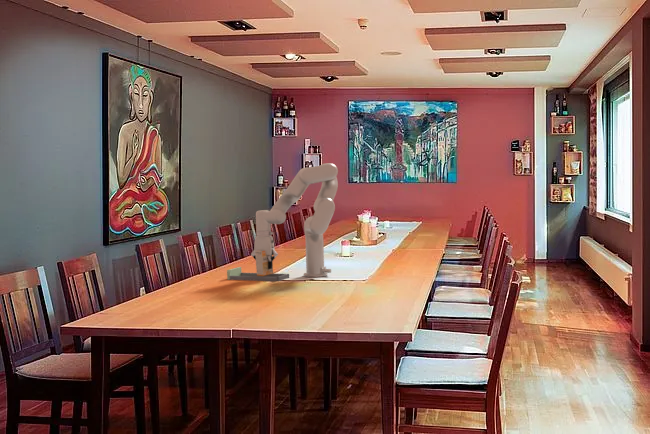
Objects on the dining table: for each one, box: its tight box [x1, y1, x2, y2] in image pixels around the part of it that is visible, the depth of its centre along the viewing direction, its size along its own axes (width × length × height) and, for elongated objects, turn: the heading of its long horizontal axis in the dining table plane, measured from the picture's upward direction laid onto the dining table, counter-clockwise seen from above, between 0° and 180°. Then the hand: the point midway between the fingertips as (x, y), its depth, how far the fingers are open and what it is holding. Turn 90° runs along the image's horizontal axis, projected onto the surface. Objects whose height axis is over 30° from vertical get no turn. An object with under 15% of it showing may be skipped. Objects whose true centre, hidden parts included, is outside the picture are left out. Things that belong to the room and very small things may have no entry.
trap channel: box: [226, 266, 290, 282], centre depth 408 cm, size 30×13×5 cm, turn 68°
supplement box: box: [255, 251, 274, 276], centre depth 406 cm, size 8×5×13 cm, turn 144°
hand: (264, 268), depth 406 cm, fingers closed on supplement box, 5 cm apart
